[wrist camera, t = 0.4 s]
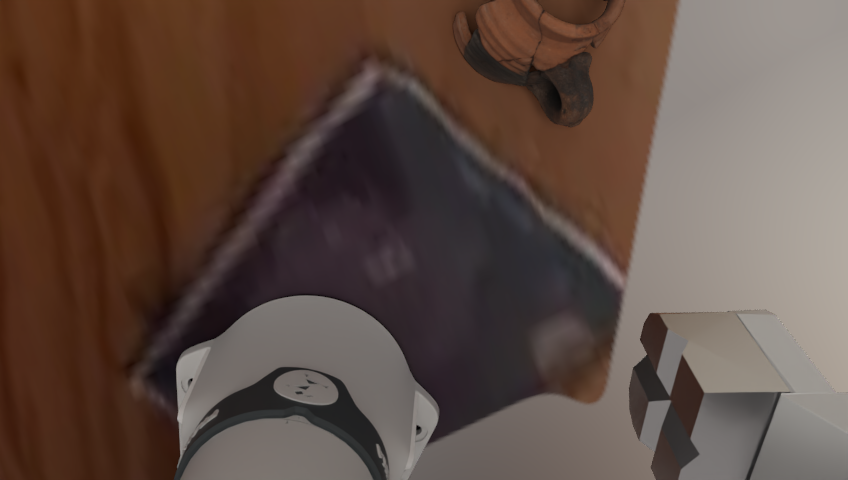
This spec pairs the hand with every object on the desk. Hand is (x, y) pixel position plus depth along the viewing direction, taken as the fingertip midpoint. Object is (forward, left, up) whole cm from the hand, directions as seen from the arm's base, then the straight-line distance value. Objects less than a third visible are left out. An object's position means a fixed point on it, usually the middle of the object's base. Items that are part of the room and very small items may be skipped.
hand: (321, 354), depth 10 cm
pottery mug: (+4, -8, -44) cm, 45 cm away
